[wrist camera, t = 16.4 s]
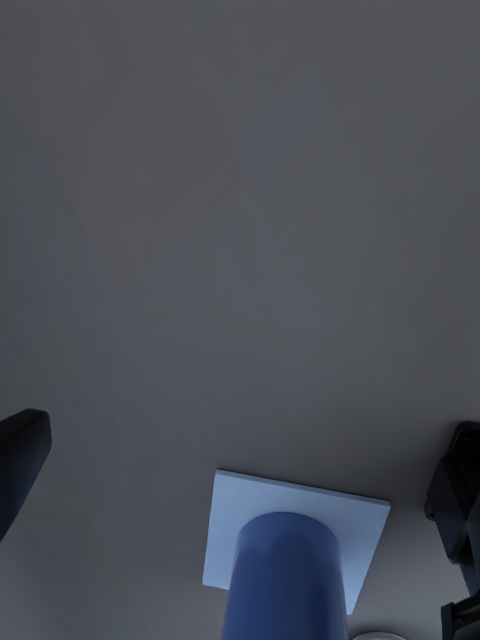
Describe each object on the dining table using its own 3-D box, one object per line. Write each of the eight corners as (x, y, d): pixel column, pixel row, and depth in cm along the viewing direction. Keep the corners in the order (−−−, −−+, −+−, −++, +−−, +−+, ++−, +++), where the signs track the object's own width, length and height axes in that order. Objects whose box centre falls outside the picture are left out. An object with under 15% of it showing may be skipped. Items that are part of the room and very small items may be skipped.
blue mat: (390, 501, 24) (391, 506, 24) (350, 609, 29) (351, 615, 28) (216, 468, 25) (215, 473, 25) (203, 579, 29) (202, 584, 29)
